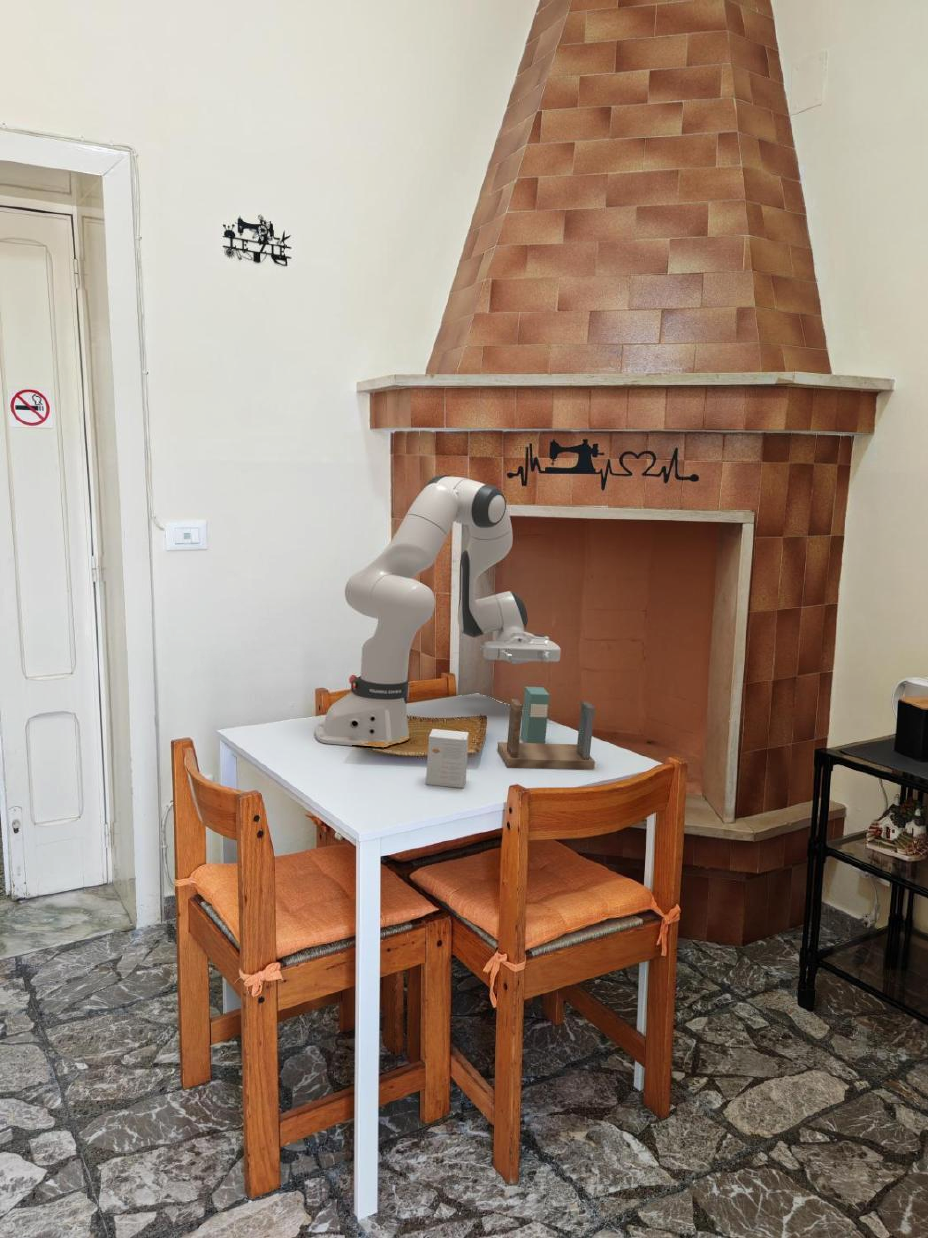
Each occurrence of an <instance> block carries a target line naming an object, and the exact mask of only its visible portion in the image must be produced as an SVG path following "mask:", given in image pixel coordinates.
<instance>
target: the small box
mask: <svg viewBox="0 0 928 1238" xmlns="http://www.w3.org/2000/svg"><path fill="white" fill-rule="evenodd" d="M469 734H470V733H469V732H467V731H461V730H459V731H457V730H449V729H448V730H447V729H437V728H432V729H431V732H430V733H429V735H428V744H427V759H426V774H425V775H426V776H425V784H426V785H429V786H437V787H438V786H440V787H448V788H449V787H450V788H460V789H461V788H462V789H464V786H465V784H466V783H465V782H466V779H467V768H468V767H467V766H468V765H467V764H468V753H469V752H468V751H469V737H470V736H469Z"/></svg>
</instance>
